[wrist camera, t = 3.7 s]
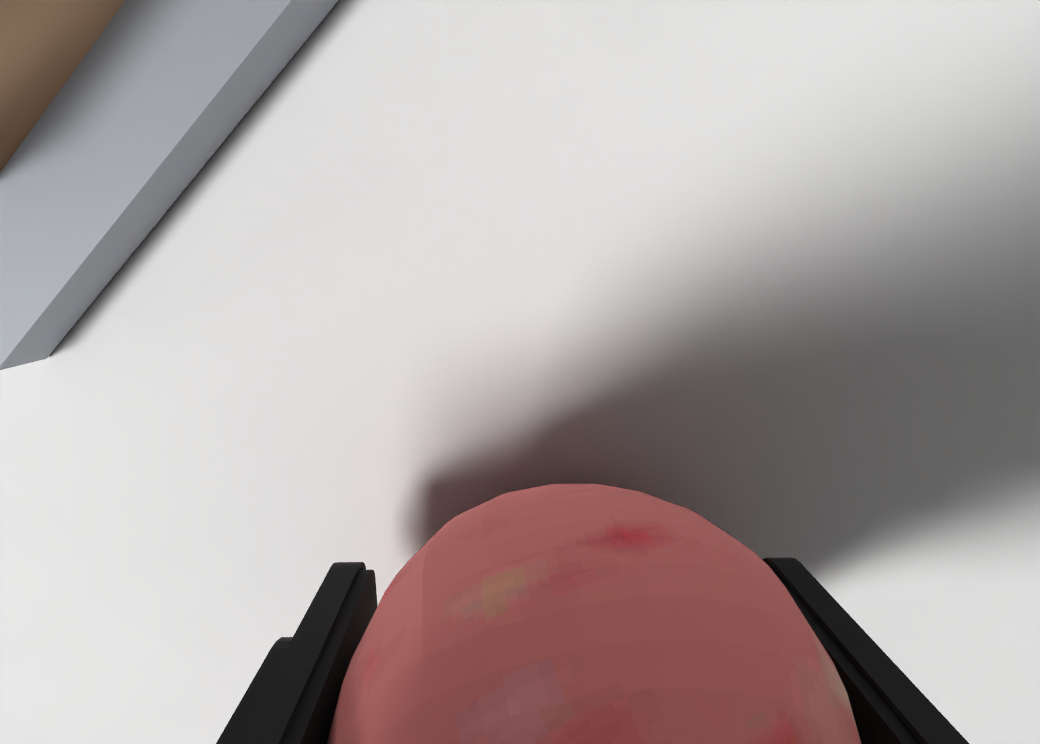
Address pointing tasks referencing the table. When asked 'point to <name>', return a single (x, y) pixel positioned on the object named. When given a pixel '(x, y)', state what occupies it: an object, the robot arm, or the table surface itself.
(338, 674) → the robot arm
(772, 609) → the apple
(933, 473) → the table surface
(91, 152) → the tray
